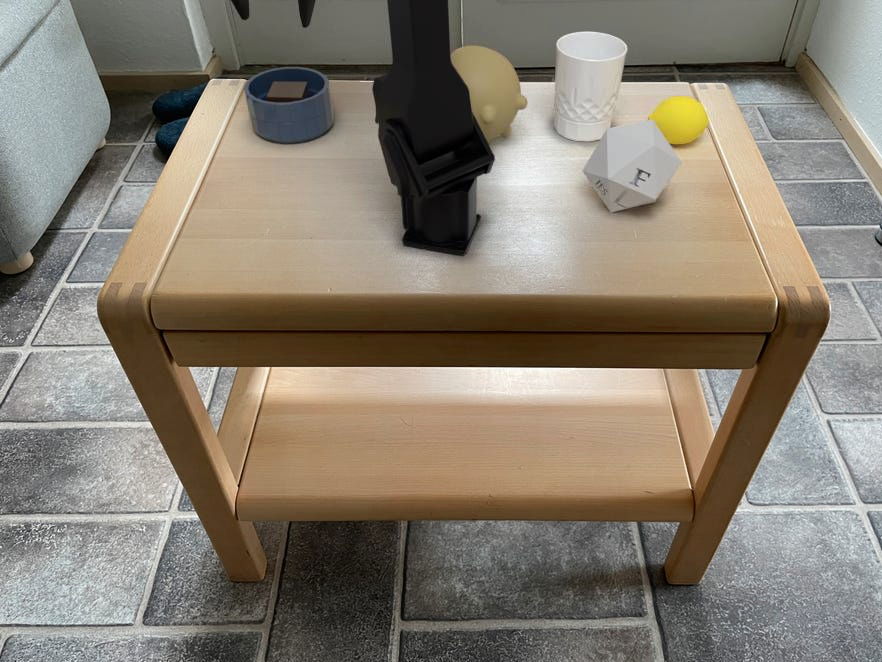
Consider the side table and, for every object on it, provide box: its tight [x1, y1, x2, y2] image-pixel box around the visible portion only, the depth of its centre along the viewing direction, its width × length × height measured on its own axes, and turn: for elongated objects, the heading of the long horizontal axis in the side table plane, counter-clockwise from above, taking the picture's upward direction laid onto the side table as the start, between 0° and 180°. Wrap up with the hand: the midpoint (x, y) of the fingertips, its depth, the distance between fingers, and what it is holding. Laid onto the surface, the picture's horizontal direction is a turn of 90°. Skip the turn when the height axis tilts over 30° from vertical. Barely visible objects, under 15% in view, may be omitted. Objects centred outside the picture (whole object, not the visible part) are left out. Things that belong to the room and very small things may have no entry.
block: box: [267, 81, 310, 103], centre depth 88 cm, size 4×4×4 cm
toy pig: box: [450, 45, 529, 143], centre depth 85 cm, size 10×12×11 cm
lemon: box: [647, 95, 710, 145], centre depth 86 cm, size 7×5×5 cm
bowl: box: [243, 66, 335, 144], centre depth 88 cm, size 10×10×5 cm
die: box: [582, 119, 683, 213], centre depth 76 cm, size 8×9×10 cm
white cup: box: [553, 31, 628, 143], centre depth 86 cm, size 8×8×10 cm
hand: (275, 22), depth 81 cm, fingers open, 7 cm apart
